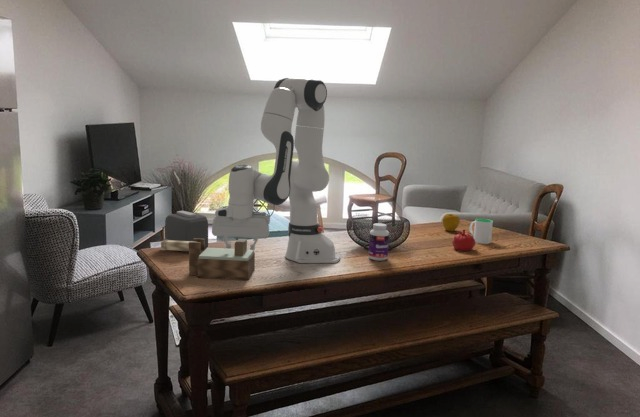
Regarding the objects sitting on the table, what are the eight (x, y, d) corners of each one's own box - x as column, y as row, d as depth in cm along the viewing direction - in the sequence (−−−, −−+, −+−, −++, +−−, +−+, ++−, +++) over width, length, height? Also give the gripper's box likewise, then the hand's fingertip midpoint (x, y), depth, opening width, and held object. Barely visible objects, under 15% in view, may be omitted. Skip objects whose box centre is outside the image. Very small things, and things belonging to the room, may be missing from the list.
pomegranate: (479, 251, 239) (481, 231, 237) (463, 253, 234) (465, 232, 232) (462, 245, 247) (464, 226, 246) (446, 247, 242) (448, 227, 240)
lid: (253, 254, 199) (253, 237, 198) (247, 263, 188) (247, 245, 186) (207, 252, 200) (207, 235, 199) (198, 261, 189) (198, 243, 187)
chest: (254, 270, 200) (254, 239, 198) (248, 280, 188) (248, 247, 186) (196, 267, 201) (196, 236, 199) (186, 277, 190) (186, 244, 187)
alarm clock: (208, 250, 225) (208, 214, 223) (185, 255, 217) (184, 217, 214) (185, 243, 236) (185, 208, 233) (163, 247, 228) (162, 211, 225)
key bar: (197, 249, 196) (197, 241, 195) (194, 251, 192) (194, 243, 192) (164, 247, 196) (164, 239, 196) (161, 250, 193) (161, 242, 192)
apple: (460, 229, 280) (461, 213, 278) (457, 233, 272) (458, 216, 271) (443, 228, 283) (444, 211, 282) (440, 231, 276) (441, 214, 274)
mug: (463, 239, 260) (465, 218, 258) (473, 237, 265) (475, 216, 263) (483, 244, 251) (485, 222, 249) (494, 242, 255) (496, 221, 253)
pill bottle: (375, 262, 216) (376, 227, 213) (364, 257, 223) (366, 223, 220) (391, 260, 220) (393, 225, 217) (380, 255, 227) (382, 221, 224)
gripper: (271, 210, 193) (270, 248, 195) (215, 208, 194) (215, 245, 196) (268, 214, 186) (267, 252, 189) (210, 211, 188) (210, 249, 190)
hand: (240, 248), depth 193 cm, fingers open, 7 cm apart
